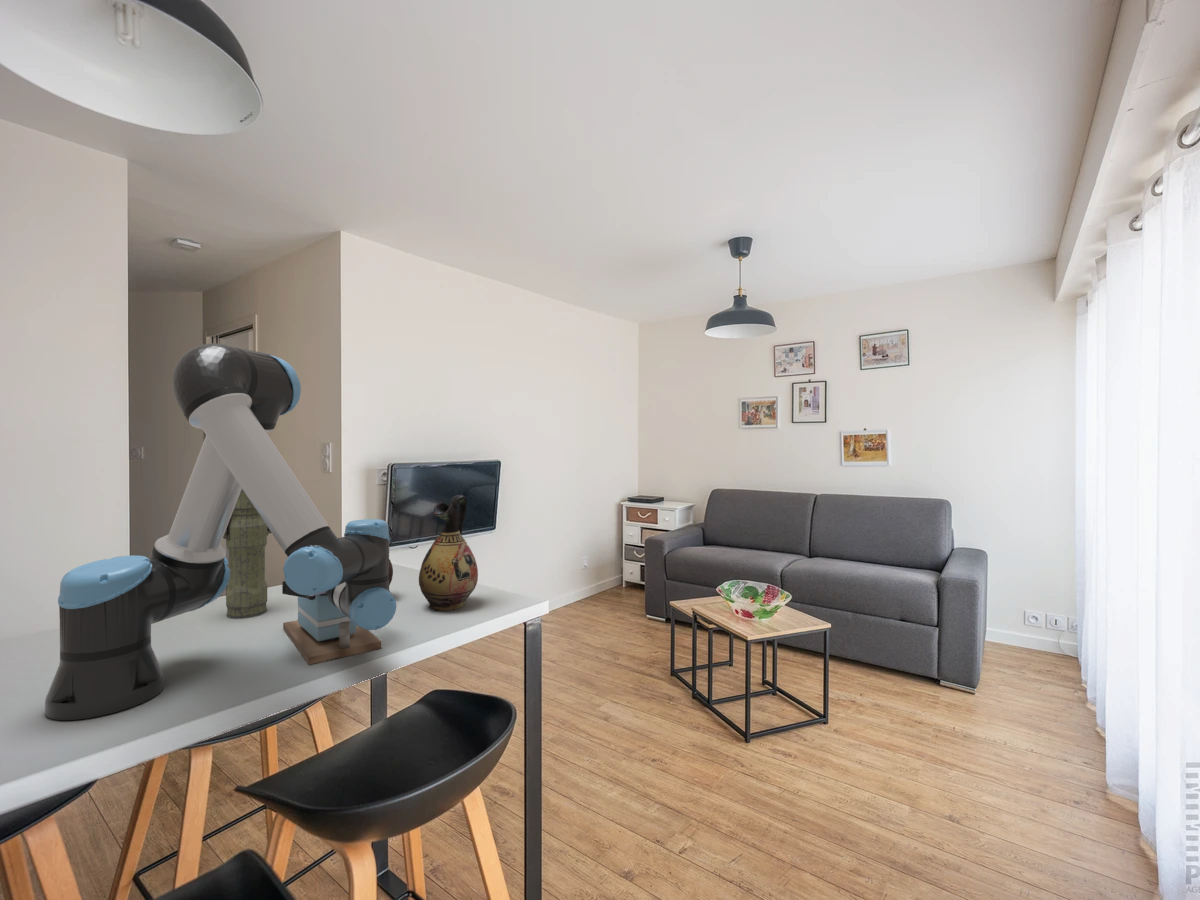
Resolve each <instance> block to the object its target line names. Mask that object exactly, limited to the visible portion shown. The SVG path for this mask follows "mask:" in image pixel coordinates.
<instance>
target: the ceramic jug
mask: <svg viewBox="0 0 1200 900" xmlns="http://www.w3.org/2000/svg"><path fill="white" fill-rule="evenodd" d="M467 509H468V501H467V498H466V496H465V495H462V494H457V495H453V496H452V497H451V498H450V500H449V504H447V503H445V502H443V501H440V502H438V503H437V504H436V505H435V507H434V508H433V514H434V515H435V516H436V517H438V518H439V519H442V520H444V522H445V523H444V528H443V529H442V530H441V531H440V534H439V535H438V536H437V537H436V539H435V540H434V541H433V543H432V545H431V546H430V548H429V549H428V551H427V552H426V554H425V556H424V557H423V560H422V563H421V566H420V569H419V570H420V571H419V574H418V586H419V588H420V592H421V593H422V595H423V596H424V598H425V599H426V601H427V603H428V604H429V605H428V607H429V609H430V610H432V609H433V610H434V611H444V610H445V611H446V610H448V611H454V610H453V609H455V610H458V609H461V608H463V607H464V606H465V604H466V601H467V600H468V598H469V597H470V595H471V594H472V593H473V592H474V590H475V589H476V588H477V585H478V578H479V568H478V565H477V560H476V557H475V555H474V553H473V551H472V549H471V547H470V546H469V544H468V543H467V541H466V539H465V538H464V537H463V535H462V534H463V527H464V521H465V518H466V514H467ZM433 610H432V611H433ZM445 611H444V612H445Z"/></svg>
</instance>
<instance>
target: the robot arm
mask: <svg viewBox="0 0 1200 900" xmlns="http://www.w3.org/2000/svg"><path fill="white" fill-rule="evenodd" d="M171 378H172V381H171V382H172V383H171V384H172V387H171V388H172V390H173V391H172V392H173V395H174V398H175V401H176V403H177V405H178V407H179V409H180V410H181V412H182V414H183V416H184V417H185V418H186V420H187V422H188V423H189V424H190V426H191V427H193V428H195V429H199V430H202V431H203V432H204V434H205V438H204V440H203V441H202V442H203V443H202V445H201V448H200V451H199V453H198V455H197V459H196V461H195V463H194V466H193V469H192V472H191V475H190V477H189V480H188V482H187V485H186V487H185V490H184V492H183V495H182V498H181V501H180V503H179V507H178V508H177V512H176V514H175V517H174V520H173V522H172V525H171V527H170V530H169V532H168V534H166V535H164V536H162V537H159V538H157V540H156V541H155V542H154V545H153V548H152V551H151V552H150V555H149V558H148V557H147V556H144V555H124V556H123V555H122V556H121V555H120V556H116V557H111V558H103V559H100V560H96V561H90V562H87V563H85V564H82V565H79V566H77V567H75V568H72V569H71V570H70V571H69V570H68V572H67V573H65V575H63V576H62V579H61V580H60V583H59V584H60V585H59V595H58V597H57V604H58V609H59V663H58V667H57V670H56V672H55V675H54V677H53V679H52V682H51V685H50V686H49V689H48V691H47V694H46V696H45V700H44V715H45V716H46V717H47V718H49V719H51V720H57V721H73V720H74V721H75V720H76V721H77V720H84V719H91V718H96V717H101V716H105V715H110V714H115V713H117V712H121V711H125V710H127V709H131V708H133V707H135V706H138V705H140V704H143V703H144V702H147V701H149V700H151V699H152V698H155V696H157V695H159V694H160V693H161V692H163V690H164V688H165V673H164V671H163V669H162V667H161V665H160V663H159V661H158V658H157V656H156V653H155V651H154V649H153V647H152V625H153V624H155V623H159V622H163V621H164V620H168V619H170V618H174V617H176V616H179V615H183V614H186V613H189V612H194V611H196V610H198V609H201V608H204V607H205V606H207V605H209V604H210V603H213V602H214V601H216V600H217V599H218V598H219V597H220V596H221V595H222V594H223V593H224V592H225V591H226V589H227V587H228V584H229V578H230V569H229V559H227V557H226V555H227V551H226V549H225V548H224V546H223V545H222V542H223V539H224V538H223V536H224V533H225V531H226V528H227V526H228V523H229V520H230V518H231V515H232V513H233V510H234V507H235V505H236V502H237V500H238V497H239V495H240V492H241V489H243V491H244V492H245V494H246V495H247V497H248V498H249V500H250V501H251V503H252V504H253V506H254V507H255V509H256V510H257V512H258V513H259V515H260V516H261V518H262V519H263V521H264V522H265V524H266V525H267V527H268V528H269V530H270V531H271V533H270V534H272V536H273V537H274V539H275V540H276V541H277V543H278V545H279V546H280V547H281V549H282V551H283V552H284V554H285V556H286V557H287V558H285V559H286V560H285V561H284V565H283V567H282V568H283V570H282V572H283V576H284V581H282V583H281V584H282V586H281V588H282V589H281V592H282V595H287V596H293V597H297V598H298V597H304V598H307V599H309V600H314V599H315V597H316V595H320V596H328V598H329V600H330V601H331V603H332V604H333V605H334V606H335V607H337V608H338V609H339V610H340V611H342V612H343V613H344V614H345V615H346V616H348V617H349V618H350V620H351V621H352V623H353V624H355V625H356V626H359V627H361V628H363V629H366V630H369V631H376V630H379V629H382V628H384V627H385V626H387V625H388V624H389V623H390V622H391V621H392V620H393V619H394V617H395V614H396V611H397V601H396V598H395V597H394V595H393V593H392V592H391V591H390V585H389V559H390V542H391V539H390V532H389V524H388V522H387V521H385V520H384V519H378V518H376V519H375V518H374V519H373V518H371V519H370V518H368V519H366V518H365V519H364V518H363V519H355V520H351V521H350V520H349V522H347V524H346V525H345V528H344V529H345V531H344V534H343V536H342V537H337V535H336V534H335V532H334V531H333V530H332V529H331V527H330V526H329V524H328V522H327V521H326V520H325V518H324V517H323V515H322V514H321V512H320V511H319V509H318V507H317V506H316V505H315V503H314V502H313V500H312V499H311V497H310V496H309V494H308V493H307V491H306V490H305V488H304V487H303V485H302V483H301V482H300V481H299V478H298V477H297V476H296V474H294V472H293V470H292V469H291V468H290V466H289V465H288V463H287V461H286V460H285V458H284V457H283V456H282V454H281V453H280V451H279V449H278V448H277V446H276V445H275V443H274V442H273V440H272V439H271V438H270V436H269V434H268V433H271V432H273V431H274V430H275V427H276V426H277V423H278V420H279V418H280V416H284V415H286V414H288V413H289V412H292V411H293V410H294V409H295V408H296V406H297V405H298V403H299V402H300V398H301V394H302V393H301V392H302V386H301V381H300V378H299V377H298V374H297V372H296V370H295V369H294V367H293V366H292V365H291V364H290V363H289V362H287V361H286V360H284V359H282V358H280V357H278V356H275V355H272V354H269V353H266V352H260V351H256V350H251V349H246V348H241V347H236V346H232V345H229V344H228V345H227V344H224V343H215V342H213V343H206V344H205V343H204V344H200V345H198V346H195V347H193V348H191V349H189V350H188V351H186V352H185V353H184V354H183V355H182V356H181V357H180V358H179V359H178V361H177V362H176V364H175V366H174V368H173V372H172V375H171Z"/></svg>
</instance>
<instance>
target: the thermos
mask: <svg viewBox="0 0 1200 900" xmlns="http://www.w3.org/2000/svg"><path fill="white" fill-rule="evenodd" d="M270 534H272V533H271V531H270V530H269V528H268V527H267V525H266V524H265V522H264V521H263V519H262V518H261V516H260V515H259V513H258V512H257V510H256V509H255V507H254V506H253V504H252V503H251V501H250V500H249V498H248V497H247V495H246V494H245V492H244V491H243V489H241V492H240V495H239V497H238V500H237V502H236V505H235V507H234V510H233V513H232V515H231V518H230V520H229V523H228V526H227V528H226V531H225V533H224V536H223V539H225V541H226V543H225V547H226V548H227V550H228V563H229V564H228V568H229V569H230V578H229V582H228V585H227V587H226V589H225V607H226V609H227V610H226V617H227V618H229V619H238V620H239V619H247V618H253V617H257V616H258V617H259V616H261V615H263V614H265V613H266V612H267V611H268V608H267V602H268V584H267V581H266V559H265V558H266V552H265V551H266V549H265V548H266V545H267V544H268V536H269V535H270Z"/></svg>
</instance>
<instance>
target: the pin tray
mask: <svg viewBox="0 0 1200 900" xmlns="http://www.w3.org/2000/svg"><path fill="white" fill-rule="evenodd" d="M282 630H283V631H284V632H285V634H286V635H287V637H288V638H289V640H290V641H291V643H293V644H294V646H295V648H297V650H298V652H299V653H300V655H301V656H302V657H303V659H304V660H305V661H306V662H307V664H308V665H309V666H310V665H315V664H319V663H322V662H327V660H328V661H331V659H332V660H336V659H335V658H337V659H341V658H345V656H346V657H349V656H353V655H358V654H362V653H367V652H371V651H376V650H379V649H382V641H381V639H379V638H378V637H377V636H376V635H375V634H373V633H372V632H371V630H366V629H363V628H361V627H359V626H356V633H354V634H351V635H350V622H341V623H339V638H338V639H334V640H329V641H323V642H318V641H317V640H316V639H315V638H314V637H313V636H312V635H310V634H309V633H308V632H307V631H306V630H305V629H304V628H303V627H302V626H301V625H300V624H299V623H298V619H296V620H291V621H285V622H282ZM340 657H341V658H340Z"/></svg>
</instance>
